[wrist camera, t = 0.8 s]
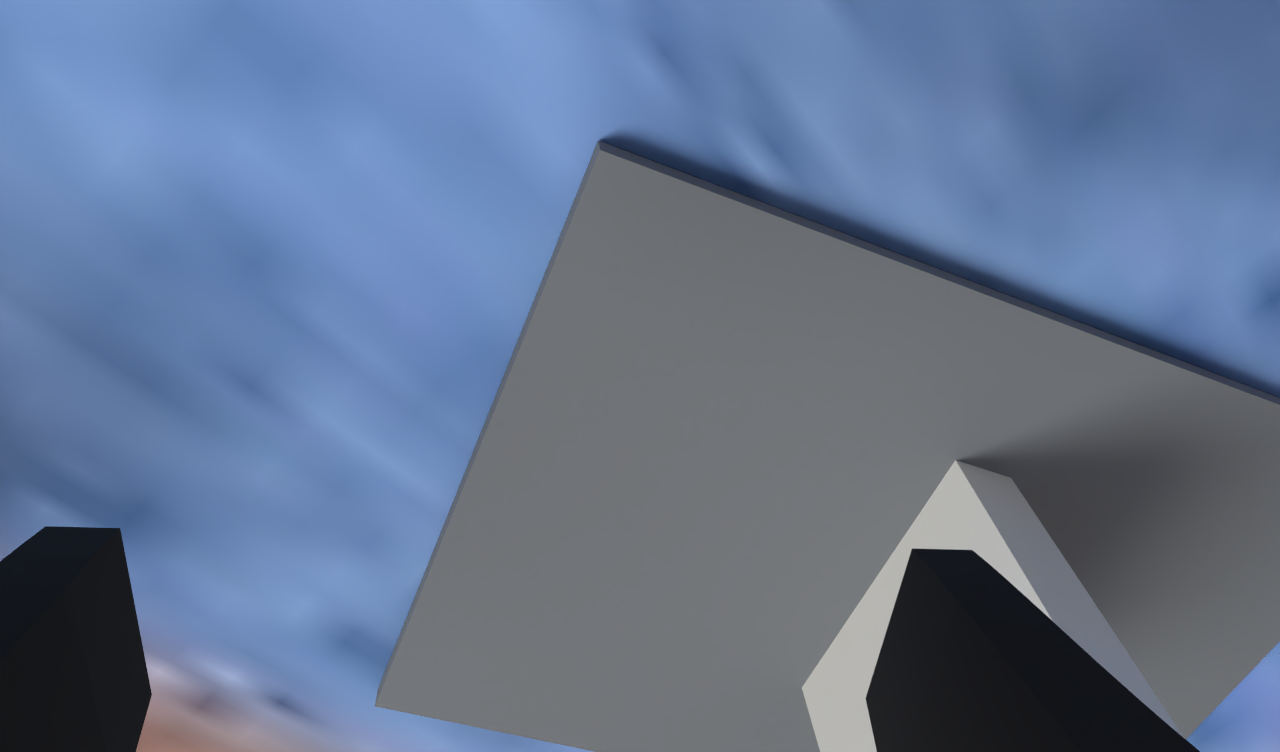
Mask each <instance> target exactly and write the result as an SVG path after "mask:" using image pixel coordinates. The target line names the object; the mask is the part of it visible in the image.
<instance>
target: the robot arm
mask: <svg viewBox="0 0 1280 752" xmlns="http://www.w3.org/2000/svg"><path fill="white" fill-rule="evenodd" d="M151 695H152V694H151V689H150V684H149V678H148V673H147V668H146V662H145V657H144V652H143V647H142V641H141V636H140V631H139V626H138V620H137V615H136V610H135V605H134V599H133V594H132V589H131V584H130V578H129V573H128V568H127V562H126V557H125V552H124V547H123V541H122V536H121V531H120V528H85V527H44V528H43V529H42V530H40V531H39V532H38V533H36V534H35V535H34V536H32V537H31V538H30V539H28V540H27V541H26V542H25V543H23V544H22V545H21V546H19V547H18V548H17V549H16V550H14V551H13V552H12V553H10V554H9V555H8V556H7V557H5V558H4V559H3V560H2V561H0V752H136V748H137V745H138V741H139V738H140V734H141V731H142V727H143V724H144V720H145V716H146V713H147V709H148V706H149V702H150V699H151ZM866 703H867V708H868V712H869V717H870V722H871V727H872V731H873V736H874V741H875V745H876V750H877V752H1200V751H1199V750H1197V749H1196V748H1195V747H1194V746H1193V745H1192V744H1190V743H1189V742H1188V741H1187V740H1186V739H1184V738H1183V737H1182V736H1181V735H1180V734H1179V733H1177V732H1176V731H1175V730H1174V729H1173V728H1171V727H1170V726H1169V725H1168V724H1167V723H1166V722H1165V721H1163V720H1162V719H1161V718H1160V717H1159V716H1158V715H1156V714H1155V713H1154V712H1153V711H1152V710H1151V709H1150V708H1148V707H1147V706H1146V705H1145V704H1144V703H1143V702H1142V701H1141V700H1139V699H1138V698H1137V697H1136V696H1135V695H1134V694H1133V693H1131V692H1130V691H1129V690H1128V689H1127V688H1126V687H1125V686H1124V685H1122V684H1121V683H1120V682H1119V681H1118V680H1117V679H1116V678H1115V677H1113V676H1112V675H1111V674H1110V673H1109V672H1108V671H1107V670H1106V669H1105V668H1104V667H1102V666H1101V665H1100V664H1099V663H1098V662H1097V661H1096V660H1095V659H1094V658H1092V657H1091V656H1090V655H1089V654H1088V653H1087V652H1086V651H1085V650H1084V649H1083V648H1081V647H1080V646H1079V645H1078V644H1077V643H1076V642H1075V641H1074V640H1073V639H1072V638H1070V637H1069V636H1068V635H1067V634H1066V633H1065V632H1064V631H1063V630H1062V629H1061V628H1060V627H1058V626H1057V625H1056V624H1055V623H1054V622H1053V621H1052V620H1051V619H1050V618H1049V617H1048V616H1046V615H1045V614H1044V613H1043V612H1042V611H1041V610H1040V609H1039V608H1038V607H1037V606H1035V605H1034V604H1033V603H1032V602H1031V601H1030V600H1029V599H1028V598H1027V597H1026V596H1024V595H1023V594H1022V593H1021V592H1020V591H1019V590H1018V589H1017V588H1016V587H1015V586H1013V585H1012V584H1011V583H1010V582H1009V581H1008V580H1007V579H1006V578H1005V577H1003V576H1002V575H1001V574H1000V573H999V572H998V571H997V570H995V569H994V568H993V567H992V566H991V565H990V564H989V563H987V562H986V561H985V560H984V559H983V558H981V557H980V556H979V555H978V554H977V553H975V552H974V551H973V550H953V549H913V548H912V550H911V553H910V557H909V560H908V563H907V566H906V570H905V573H904V576H903V579H902V582H901V586H900V589H899V592H898V595H897V599H896V602H895V605H894V608H893V611H892V615H891V618H890V621H889V624H888V628H887V631H886V634H885V637H884V640H883V644H882V647H881V650H880V653H879V657H878V660H877V663H876V666H875V669H874V673H873V676H872V679H871V682H870V686H869V689H868V692H867V695H866Z"/></svg>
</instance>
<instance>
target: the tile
mask: <svg viewBox="0 0 1280 752" xmlns="http://www.w3.org/2000/svg"><path fill="white" fill-rule="evenodd" d="M912 548H913V549H953V550H973V551H974V552H975V553H977V554H978V555H979V556H980V557H981V558H983V559H984V560H985V561H986V562H987V563H989V564H990V565H991V566H992V567H993V568H994V569H995V570H997V571H998V572H999V573H1000V574H1001V575H1002V576H1003V577H1005V578H1006V579H1007V580H1008V581H1009V582H1010V583H1011V584H1012V585H1013V586H1015V587H1016V588H1017V589H1018V590H1019V591H1020V592H1021V593H1022V594H1023V595H1024V596H1026V597H1027V598H1028V599H1029V600H1030V601H1031V602H1032V603H1033V604H1034V605H1035V606H1037V607H1038V608H1039V609H1040V610H1041V611H1042V612H1043V613H1044V614H1045V615H1046V616H1048V617H1049V618H1050V619H1051V620H1052V621H1053V622H1054V623H1055V624H1056V625H1057V626H1058V627H1060V628H1061V629H1062V630H1063V631H1064V632H1065V633H1066V634H1067V635H1068V636H1069V637H1070V638H1072V639H1073V640H1074V641H1075V642H1076V643H1077V644H1078V645H1079V646H1080V647H1081V648H1083V649H1084V650H1085V651H1086V652H1087V653H1088V654H1089V655H1090V656H1091V657H1092V658H1094V659H1095V660H1096V661H1097V662H1098V663H1099V664H1100V665H1101V666H1102V667H1104V668H1105V669H1106V670H1107V671H1108V672H1109V673H1110V674H1111V675H1112V676H1113V677H1115V678H1116V679H1117V680H1118V681H1119V682H1120V683H1121V684H1122V685H1124V686H1125V687H1126V688H1127V689H1128V690H1129V691H1130V692H1131V693H1133V694H1134V695H1135V696H1136V697H1137V698H1138V699H1139V700H1141V701H1142V702H1143V703H1144V704H1145V705H1146V706H1147V707H1148V708H1150V709H1151V710H1152V711H1153V712H1154V713H1155V714H1156V715H1158V716H1159V717H1160V718H1161V719H1162V720H1163V721H1165V722H1166V723H1167V724H1168V725H1169V726H1170V727H1171V728H1173V729H1174V730H1175V731H1176V732H1177V733H1179V734H1180V735H1181V736H1182V737H1183V738H1184V736H1183V735H1182V733H1181V732H1180V730H1179V729H1178V727H1177V726H1176V724H1175V723H1174V721H1173V720H1172V718H1171V717H1170V715H1169V714H1168V712H1167V711H1166V709H1165V708H1164V706H1163V705H1162V703H1161V702H1160V700H1159V699H1158V697H1157V696H1156V694H1155V693H1154V691H1153V690H1152V688H1151V687H1150V685H1149V684H1148V682H1147V681H1146V679H1145V678H1144V676H1143V675H1142V673H1141V672H1140V670H1139V669H1138V667H1137V666H1136V664H1135V663H1134V661H1133V660H1132V658H1131V657H1130V655H1129V654H1128V652H1127V651H1126V649H1125V648H1124V646H1123V645H1122V643H1121V642H1120V640H1119V639H1118V637H1117V636H1116V634H1115V633H1114V631H1113V630H1112V628H1111V627H1110V625H1109V624H1108V622H1107V621H1106V619H1105V618H1104V616H1103V615H1102V613H1101V612H1100V610H1099V609H1098V607H1097V606H1096V604H1095V603H1094V601H1093V600H1092V598H1091V597H1090V595H1089V594H1088V592H1087V591H1086V589H1085V588H1084V586H1083V585H1082V583H1081V582H1080V580H1079V579H1078V577H1077V576H1076V574H1075V573H1074V571H1073V570H1072V568H1071V567H1070V565H1069V564H1068V562H1067V561H1066V559H1065V558H1064V556H1063V555H1062V553H1061V552H1060V550H1059V549H1058V547H1057V546H1056V544H1055V543H1054V541H1053V540H1052V538H1051V537H1050V535H1049V534H1048V532H1047V531H1046V529H1045V528H1044V526H1043V525H1042V523H1041V522H1040V520H1039V519H1038V517H1037V516H1036V514H1035V513H1034V511H1033V510H1032V508H1031V507H1030V505H1029V504H1028V502H1027V501H1026V499H1025V498H1024V496H1023V495H1022V493H1021V492H1020V490H1019V489H1018V487H1017V486H1016V484H1015V483H1014V481H1013V480H1012V478H1010V477H1007V476H1004V475H1001V474H998V473H994V472H991V471H988V470H985V469H982V468H979V467H976V466H973V465H969V464H966V463H963V462H960V461H957V460H955V461H954V463H953V464H952V466H951V467H950V469H949V470H948V472H947V473H946V475H945V476H944V478H943V479H942V481H941V482H940V484H939V485H938V487H937V488H936V490H935V491H934V493H933V494H932V496H931V497H930V498H929V500H928V501H927V503H926V504H925V506H924V507H923V509H922V510H921V512H920V513H919V515H918V516H917V518H916V519H915V521H914V522H913V524H912V525H911V527H910V528H909V530H908V531H907V533H906V534H905V536H904V537H903V538H902V540H901V541H900V543H899V544H898V546H897V547H896V549H895V550H894V552H893V553H892V555H891V556H890V558H889V559H888V561H887V562H886V564H885V565H884V567H883V568H882V570H881V571H880V573H879V574H878V575H877V577H876V578H875V580H874V581H873V583H872V584H871V586H870V587H869V589H868V590H867V592H866V593H865V595H864V596H863V598H862V599H861V601H860V602H859V604H858V605H857V607H856V608H855V610H854V611H853V613H852V614H851V615H850V617H849V618H848V620H847V621H846V623H845V624H844V626H843V627H842V629H841V630H840V632H839V633H838V635H837V636H836V638H835V639H834V641H833V642H832V644H831V645H830V647H829V648H828V650H827V651H826V653H825V654H824V655H823V657H822V658H821V660H820V661H819V663H818V664H817V666H816V667H815V669H814V670H813V672H812V673H811V675H810V676H809V678H808V679H807V681H806V682H805V684H804V685H803V687H802V690H803V694H804V697H805V701H806V704H807V708H808V711H809V715H810V718H811V722H812V725H813V729H814V732H815V735H816V739H817V742H818V746H819V749H820V752H877V750H876V745H875V741H874V736H873V731H872V727H871V722H870V717H869V712H868V708H867V703H866V695H867V692H868V689H869V686H870V682H871V679H872V676H873V673H874V669H875V666H876V663H877V660H878V657H879V653H880V650H881V647H882V644H883V640H884V637H885V634H886V631H887V628H888V624H889V621H890V618H891V615H892V611H893V608H894V605H895V602H896V599H897V595H898V592H899V589H900V586H901V582H902V579H903V576H904V573H905V570H906V566H907V563H908V560H909V557H910V553H911V550H912ZM1184 739H1185V738H1184Z"/></svg>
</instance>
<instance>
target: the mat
mask: <svg viewBox="0 0 1280 752" xmlns="http://www.w3.org/2000/svg"><path fill="white" fill-rule="evenodd" d="M955 460H957V461H960V462H963V463H966V464H969V465H973V466H976V467H979V468H982V469H985V470H988V471H991V472H994V473H998V474H1001V475H1004V476H1007V477H1010V478H1012V480H1013V481H1014V483H1015V484H1016V486H1017V487H1018V489H1019V490H1020V492H1021V493H1022V495H1023V496H1024V498H1025V499H1026V501H1027V502H1028V504H1029V505H1030V507H1031V508H1032V510H1033V511H1034V513H1035V514H1036V516H1037V517H1038V519H1039V520H1040V522H1041V523H1042V525H1043V526H1044V528H1045V529H1046V531H1047V532H1048V534H1049V535H1050V537H1051V538H1052V540H1053V541H1054V543H1055V544H1056V546H1057V547H1058V549H1059V550H1060V552H1061V553H1062V555H1063V556H1064V558H1065V559H1066V561H1067V562H1068V564H1069V565H1070V567H1071V568H1072V570H1073V571H1074V573H1075V574H1076V576H1077V577H1078V579H1079V580H1080V582H1081V583H1082V585H1083V586H1084V588H1085V589H1086V591H1087V592H1088V594H1089V595H1090V597H1091V598H1092V600H1093V601H1094V603H1095V604H1096V606H1097V607H1098V609H1099V610H1100V612H1101V613H1102V615H1103V616H1104V618H1105V619H1106V621H1107V622H1108V624H1109V625H1110V627H1111V628H1112V630H1113V631H1114V633H1115V634H1116V636H1117V637H1118V639H1119V640H1120V642H1121V643H1122V645H1123V646H1124V648H1125V649H1126V651H1127V652H1128V654H1129V655H1130V657H1131V658H1132V660H1133V661H1134V663H1135V664H1136V666H1137V667H1138V669H1139V670H1140V672H1141V673H1142V675H1143V676H1144V678H1145V679H1146V681H1147V682H1148V684H1149V685H1150V687H1151V688H1152V690H1153V691H1154V693H1155V694H1156V696H1157V697H1158V699H1159V700H1160V702H1161V703H1162V705H1163V706H1164V708H1165V709H1166V711H1167V712H1168V714H1169V715H1170V717H1171V718H1172V720H1173V721H1174V723H1175V724H1176V726H1177V727H1178V729H1179V730H1180V732H1181V733H1182V735H1183V736H1184V738H1185V739H1187V738H1188V737H1189V736H1190V734H1191V733H1192V732H1193V731H1194V730H1195V729H1196V728H1197V727H1198V726H1199V725H1200V724H1201V723H1202V722H1203V721H1204V720H1205V719H1206V718H1207V717H1208V716H1209V715H1210V714H1211V713H1212V711H1213V710H1214V709H1215V708H1216V707H1217V706H1218V705H1219V704H1220V703H1221V702H1222V701H1223V700H1224V699H1225V698H1226V697H1227V696H1228V695H1229V694H1230V693H1231V692H1232V691H1233V689H1234V688H1235V687H1236V686H1237V685H1238V684H1239V683H1240V682H1241V681H1242V680H1243V679H1244V678H1245V677H1246V676H1247V675H1248V674H1249V673H1250V672H1251V671H1252V670H1253V669H1254V668H1255V666H1256V665H1257V664H1258V663H1259V662H1260V661H1261V660H1262V659H1263V658H1264V657H1265V656H1266V655H1267V654H1268V653H1269V652H1270V651H1271V650H1272V649H1273V648H1274V647H1275V646H1276V644H1277V643H1278V642H1279V641H1280V398H1279V397H1276V396H1273V395H1271V394H1268V393H1265V392H1263V391H1260V390H1257V389H1255V388H1252V387H1249V386H1247V385H1244V384H1242V383H1239V382H1236V381H1234V380H1231V379H1228V378H1226V377H1223V376H1220V375H1218V374H1215V373H1212V372H1210V371H1207V370H1204V369H1202V368H1199V367H1197V366H1194V365H1191V364H1189V363H1186V362H1183V361H1181V360H1178V359H1175V358H1173V357H1170V356H1167V355H1165V354H1162V353H1159V352H1157V351H1154V350H1152V349H1149V348H1146V347H1144V346H1141V345H1138V344H1136V343H1133V342H1130V341H1128V340H1125V339H1122V338H1120V337H1117V336H1114V335H1112V334H1109V333H1107V332H1104V331H1101V330H1099V329H1096V328H1093V327H1091V326H1088V325H1085V324H1083V323H1080V322H1077V321H1075V320H1072V319H1069V318H1067V317H1064V316H1062V315H1059V314H1056V313H1054V312H1051V311H1048V310H1046V309H1043V308H1040V307H1038V306H1035V305H1032V304H1030V303H1027V302H1025V301H1022V300H1019V299H1017V298H1014V297H1011V296H1009V295H1006V294H1003V293H1001V292H998V291H995V290H993V289H990V288H987V287H985V286H982V285H980V284H977V283H974V282H972V281H969V280H966V279H964V278H961V277H958V276H956V275H953V274H950V273H948V272H945V271H942V270H940V269H937V268H935V267H932V266H929V265H927V264H924V263H921V262H919V261H916V260H913V259H911V258H908V257H905V256H903V255H900V254H897V253H895V252H892V251H890V250H887V249H884V248H882V247H879V246H876V245H874V244H871V243H868V242H866V241H863V240H860V239H858V238H855V237H852V236H850V235H847V234H845V233H842V232H839V231H837V230H834V229H831V228H829V227H826V226H823V225H821V224H818V223H815V222H813V221H810V220H807V219H805V218H802V217H800V216H797V215H794V214H792V213H789V212H786V211H784V210H781V209H778V208H776V207H773V206H770V205H768V204H765V203H762V202H760V201H757V200H755V199H752V198H749V197H747V196H744V195H741V194H739V193H736V192H733V191H731V190H728V189H725V188H723V187H720V186H717V185H715V184H712V183H710V182H707V181H704V180H702V179H699V178H696V177H694V176H691V175H688V174H686V173H683V172H680V171H678V170H675V169H672V168H670V167H667V166H665V165H662V164H659V163H657V162H654V161H651V160H649V159H646V158H643V157H641V156H638V155H635V154H633V153H630V152H628V151H625V150H622V149H620V148H617V147H614V146H612V145H609V144H606V143H604V142H601V141H598V143H597V145H596V148H595V150H594V153H593V155H592V158H591V160H590V163H589V165H588V168H587V170H586V173H585V175H584V178H583V180H582V183H581V185H580V188H579V190H578V193H577V195H576V197H575V200H574V202H573V205H572V207H571V210H570V212H569V215H568V217H567V220H566V222H565V225H564V227H563V230H562V232H561V235H560V237H559V240H558V242H557V245H556V247H555V250H554V252H553V255H552V257H551V260H550V262H549V265H548V267H547V270H546V272H545V275H544V277H543V280H542V282H541V285H540V287H539V290H538V292H537V295H536V297H535V300H534V302H533V305H532V307H531V309H530V312H529V314H528V317H527V319H526V322H525V324H524V327H523V329H522V332H521V334H520V337H519V339H518V342H517V344H516V347H515V349H514V352H513V354H512V357H511V359H510V362H509V364H508V367H507V369H506V372H505V374H504V377H503V379H502V382H501V384H500V387H499V389H498V392H497V394H496V397H495V399H494V402H493V404H492V407H491V409H490V412H489V414H488V417H487V419H486V421H485V424H484V426H483V429H482V431H481V434H480V436H479V439H478V441H477V444H476V446H475V449H474V451H473V454H472V456H471V459H470V461H469V464H468V466H467V469H466V471H465V474H464V476H463V479H462V481H461V484H460V486H459V489H458V491H457V494H456V496H455V499H454V501H453V504H452V506H451V509H450V511H449V514H448V516H447V519H446V521H445V524H444V526H443V529H442V531H441V533H440V536H439V538H438V541H437V543H436V546H435V548H434V551H433V553H432V556H431V558H430V561H429V563H428V566H427V568H426V571H425V573H424V576H423V578H422V581H421V583H420V586H419V588H418V591H417V593H416V596H415V598H414V601H413V603H412V606H411V608H410V611H409V613H408V616H407V618H406V621H405V623H404V626H403V628H402V631H401V633H400V636H399V638H398V641H397V643H396V645H395V648H394V650H393V653H392V655H391V658H390V660H389V663H388V665H387V668H386V670H385V673H384V675H383V678H382V680H381V683H380V685H379V688H378V692H377V698H376V703H375V706H377V707H381V708H386V709H391V710H396V711H401V712H406V713H411V714H416V715H420V716H425V717H430V718H435V719H440V720H445V721H450V722H454V723H459V724H464V725H469V726H474V727H479V728H484V729H488V730H493V731H498V732H503V733H508V734H513V735H518V736H522V737H527V738H532V739H537V740H542V741H547V742H552V743H556V744H561V745H566V746H571V747H576V748H581V749H586V750H591V751H595V752H820V749H819V746H818V742H817V739H816V735H815V732H814V729H813V725H812V722H811V718H810V715H809V711H808V708H807V704H806V701H805V697H804V694H803V690H802V687H803V685H804V684H805V682H806V681H807V679H808V678H809V676H810V675H811V673H812V672H813V670H814V669H815V667H816V666H817V664H818V663H819V661H820V660H821V658H822V657H823V655H824V654H825V653H826V651H827V650H828V648H829V647H830V645H831V644H832V642H833V641H834V639H835V638H836V636H837V635H838V633H839V632H840V630H841V629H842V627H843V626H844V624H845V623H846V621H847V620H848V618H849V617H850V615H851V614H852V613H853V611H854V610H855V608H856V607H857V605H858V604H859V602H860V601H861V599H862V598H863V596H864V595H865V593H866V592H867V590H868V589H869V587H870V586H871V584H872V583H873V581H874V580H875V578H876V577H877V575H878V574H879V573H880V571H881V570H882V568H883V567H884V565H885V564H886V562H887V561H888V559H889V558H890V556H891V555H892V553H893V552H894V550H895V549H896V547H897V546H898V544H899V543H900V541H901V540H902V538H903V537H904V536H905V534H906V533H907V531H908V530H909V528H910V527H911V525H912V524H913V522H914V521H915V519H916V518H917V516H918V515H919V513H920V512H921V510H922V509H923V507H924V506H925V504H926V503H927V501H928V500H929V498H930V497H931V496H932V494H933V493H934V491H935V490H936V488H937V487H938V485H939V484H940V482H941V481H942V479H943V478H944V476H945V475H946V473H947V472H948V470H949V469H950V467H951V466H952V464H953V463H954V461H955Z"/></svg>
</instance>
